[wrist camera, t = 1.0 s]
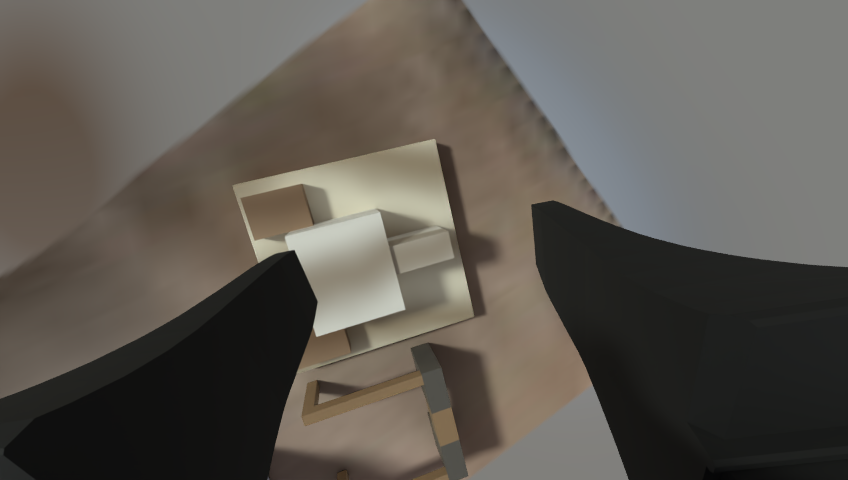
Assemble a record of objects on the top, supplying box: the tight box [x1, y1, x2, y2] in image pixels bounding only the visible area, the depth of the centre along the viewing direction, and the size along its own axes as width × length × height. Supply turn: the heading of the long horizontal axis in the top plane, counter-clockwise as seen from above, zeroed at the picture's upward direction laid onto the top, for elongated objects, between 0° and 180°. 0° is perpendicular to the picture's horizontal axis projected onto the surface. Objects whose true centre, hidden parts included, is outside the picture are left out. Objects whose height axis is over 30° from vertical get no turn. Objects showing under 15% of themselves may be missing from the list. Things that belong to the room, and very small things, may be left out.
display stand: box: [232, 139, 474, 374], centre depth 27 cm, size 15×15×6 cm
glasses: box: [302, 343, 468, 480], centre depth 30 cm, size 10×11×4 cm
